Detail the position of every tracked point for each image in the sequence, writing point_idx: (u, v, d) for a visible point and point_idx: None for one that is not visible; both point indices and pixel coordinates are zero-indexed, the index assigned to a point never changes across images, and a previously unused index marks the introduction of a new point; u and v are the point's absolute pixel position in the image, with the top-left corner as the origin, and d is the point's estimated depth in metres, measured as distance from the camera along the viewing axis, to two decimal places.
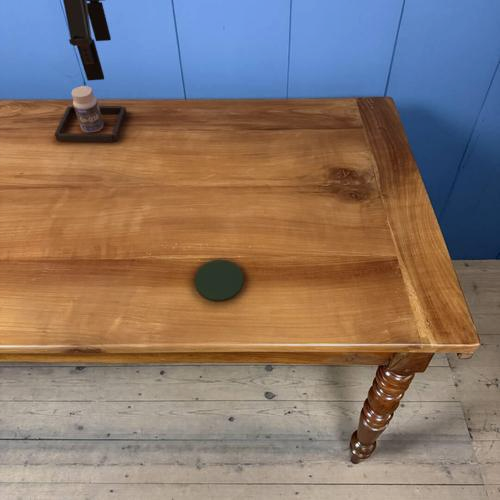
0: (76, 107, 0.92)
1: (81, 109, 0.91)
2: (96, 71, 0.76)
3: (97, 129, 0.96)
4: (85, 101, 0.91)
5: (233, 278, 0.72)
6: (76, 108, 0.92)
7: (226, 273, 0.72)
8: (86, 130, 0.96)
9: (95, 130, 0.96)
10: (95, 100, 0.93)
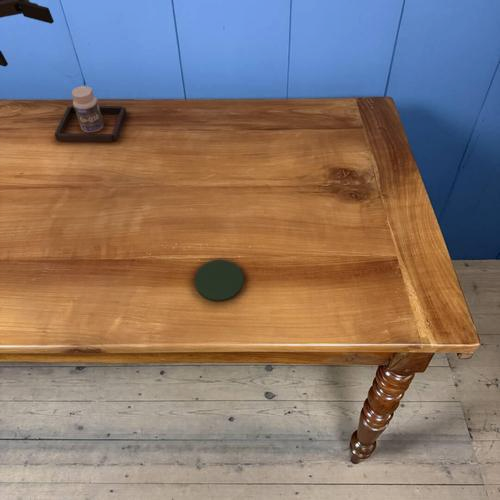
0: (76, 107, 0.92)
1: (81, 109, 0.91)
2: None
3: (97, 129, 0.96)
4: (85, 101, 0.91)
5: (233, 278, 0.72)
6: (76, 108, 0.92)
7: (226, 273, 0.72)
8: (86, 130, 0.96)
9: (95, 130, 0.96)
10: (95, 100, 0.93)
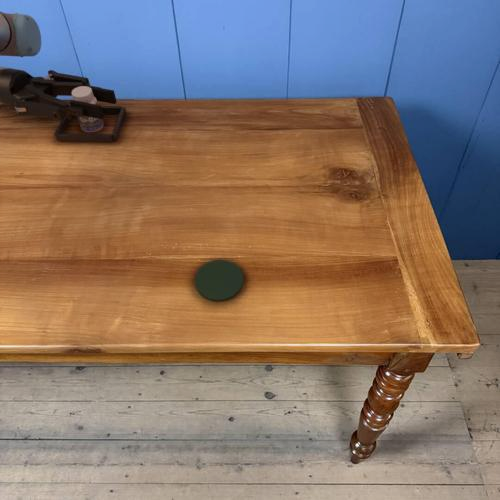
0: None
1: None
2: None
3: (97, 129, 0.96)
4: (85, 101, 0.91)
5: (233, 278, 0.72)
6: None
7: (226, 273, 0.72)
8: (86, 130, 0.96)
9: (95, 130, 0.96)
10: (95, 100, 0.93)
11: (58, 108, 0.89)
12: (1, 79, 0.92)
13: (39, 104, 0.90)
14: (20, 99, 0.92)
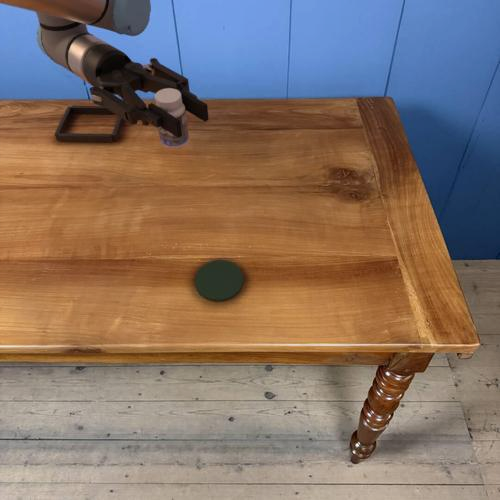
0: None
1: None
2: None
3: (176, 146, 0.74)
4: (166, 109, 0.69)
5: (233, 278, 0.72)
6: None
7: (226, 273, 0.72)
8: (163, 143, 0.74)
9: (173, 146, 0.74)
10: (182, 110, 0.70)
11: (131, 109, 0.69)
12: (91, 55, 0.75)
13: (114, 98, 0.70)
14: (101, 85, 0.74)
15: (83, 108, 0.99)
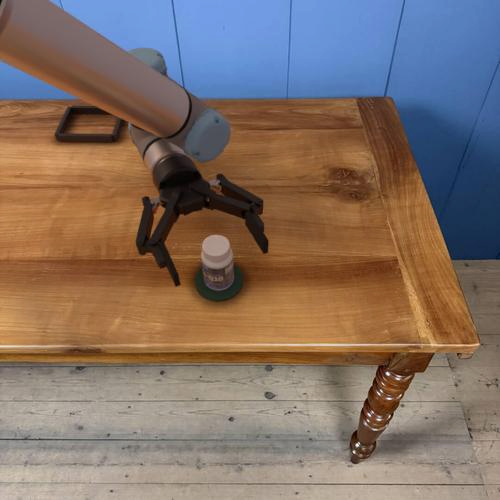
0: (201, 257, 0.67)
1: (203, 263, 0.66)
2: None
3: (216, 289, 0.70)
4: (210, 259, 0.65)
5: None
6: (201, 257, 0.67)
7: None
8: None
9: (213, 288, 0.70)
10: (226, 262, 0.66)
11: (139, 243, 0.65)
12: (161, 166, 0.73)
13: (145, 220, 0.68)
14: (159, 198, 0.72)
15: (83, 108, 0.99)
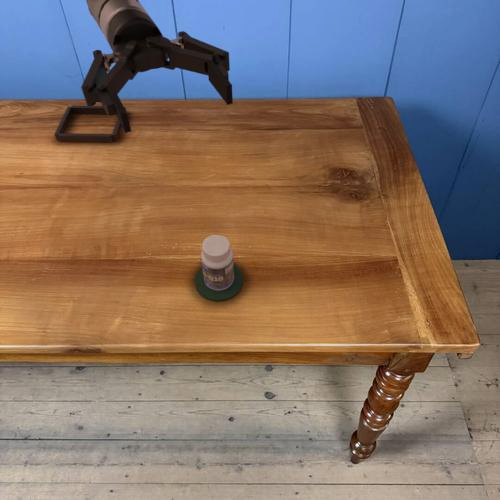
0: (201, 257, 0.67)
1: (203, 263, 0.66)
2: None
3: (216, 289, 0.70)
4: (210, 259, 0.65)
5: None
6: (201, 257, 0.67)
7: None
8: None
9: (213, 288, 0.70)
10: (226, 262, 0.66)
11: (85, 88, 0.58)
12: (115, 20, 0.65)
13: (94, 69, 0.60)
14: (112, 53, 0.64)
15: (83, 108, 0.99)
